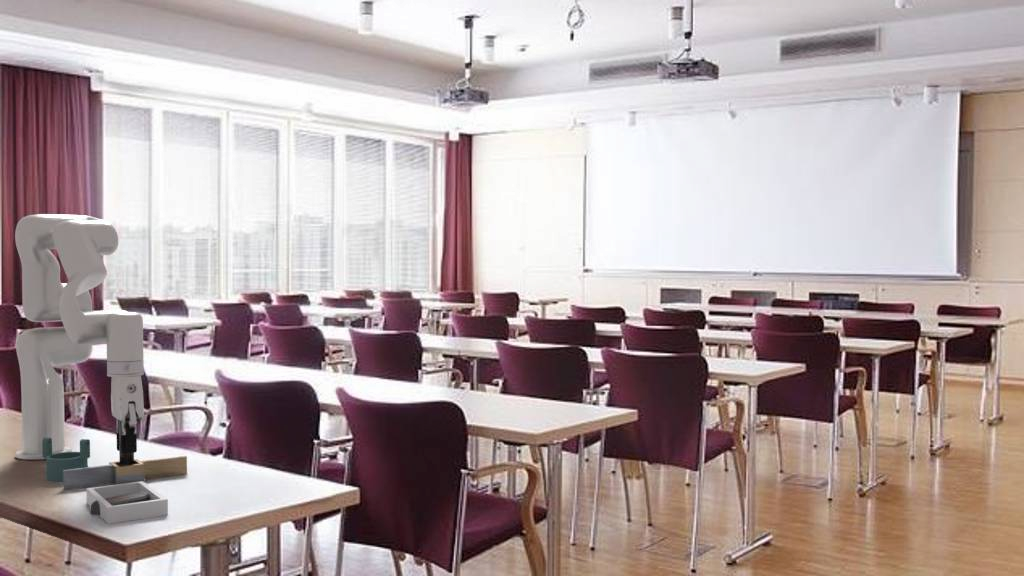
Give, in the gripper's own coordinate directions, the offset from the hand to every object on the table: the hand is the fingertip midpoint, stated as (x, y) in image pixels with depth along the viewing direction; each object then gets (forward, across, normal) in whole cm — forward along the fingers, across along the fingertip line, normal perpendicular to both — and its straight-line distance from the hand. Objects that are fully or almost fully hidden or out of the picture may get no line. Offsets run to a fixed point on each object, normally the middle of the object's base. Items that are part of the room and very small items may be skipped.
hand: (126, 450), depth 219 cm
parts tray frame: (+7, -24, +6) cm, 26 cm away
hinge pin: (+3, 0, 0) cm, 3 cm away
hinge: (+7, 0, 0) cm, 7 cm away
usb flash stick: (+7, -24, +6) cm, 26 cm away
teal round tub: (+7, +11, +10) cm, 17 cm away
